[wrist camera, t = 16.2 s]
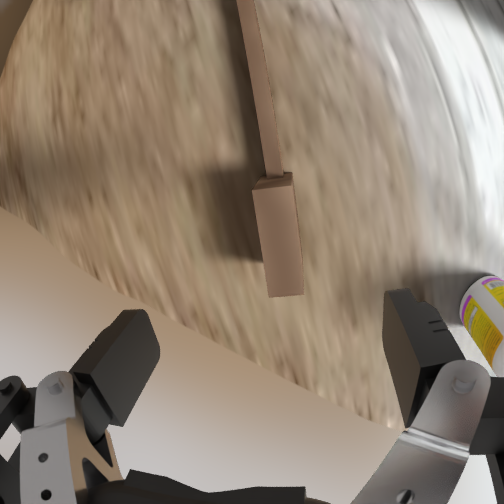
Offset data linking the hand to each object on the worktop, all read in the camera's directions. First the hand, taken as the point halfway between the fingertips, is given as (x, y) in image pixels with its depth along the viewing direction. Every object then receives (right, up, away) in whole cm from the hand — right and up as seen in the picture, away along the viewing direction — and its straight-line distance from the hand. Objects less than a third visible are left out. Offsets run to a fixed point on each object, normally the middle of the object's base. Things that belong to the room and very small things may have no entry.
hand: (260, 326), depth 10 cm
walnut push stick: (+1, +15, +14) cm, 20 cm away
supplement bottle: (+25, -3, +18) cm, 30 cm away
